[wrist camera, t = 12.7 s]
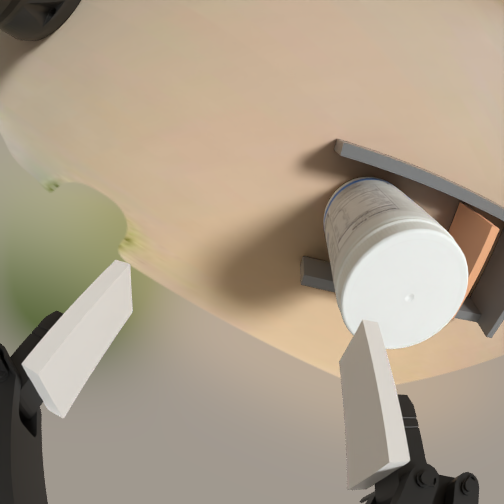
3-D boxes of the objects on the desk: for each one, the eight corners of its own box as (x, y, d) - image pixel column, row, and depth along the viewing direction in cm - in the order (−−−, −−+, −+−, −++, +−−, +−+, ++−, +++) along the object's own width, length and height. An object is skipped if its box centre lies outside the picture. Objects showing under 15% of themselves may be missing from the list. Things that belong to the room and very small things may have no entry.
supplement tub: (420, 225, 29) (485, 301, 16) (355, 273, 32) (382, 371, 19) (372, 154, 26) (438, 195, 13) (302, 211, 30) (307, 293, 17)
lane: (300, 265, 33) (300, 302, 27) (337, 138, 26) (350, 146, 20) (471, 305, 32) (491, 337, 26) (515, 214, 25) (546, 236, 19)
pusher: (424, 282, 31) (445, 317, 25) (459, 201, 26) (492, 225, 20) (448, 288, 31) (470, 322, 25) (483, 212, 26) (515, 237, 20)
